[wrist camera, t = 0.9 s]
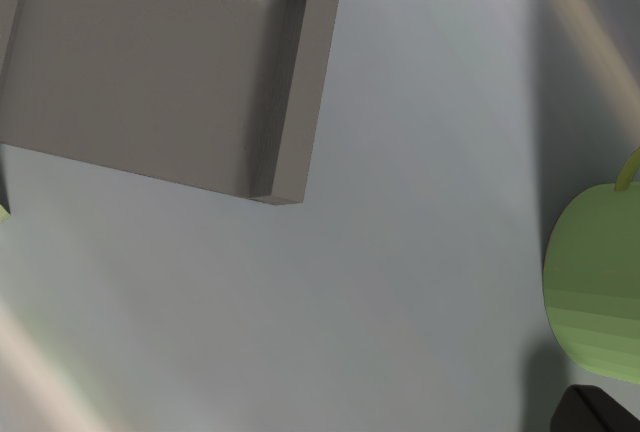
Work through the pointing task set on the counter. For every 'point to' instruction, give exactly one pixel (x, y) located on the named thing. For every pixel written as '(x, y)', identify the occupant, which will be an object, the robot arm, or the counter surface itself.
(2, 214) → the deck plate
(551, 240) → the mug
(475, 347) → the counter surface
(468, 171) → the counter surface
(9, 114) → the grey square tray
